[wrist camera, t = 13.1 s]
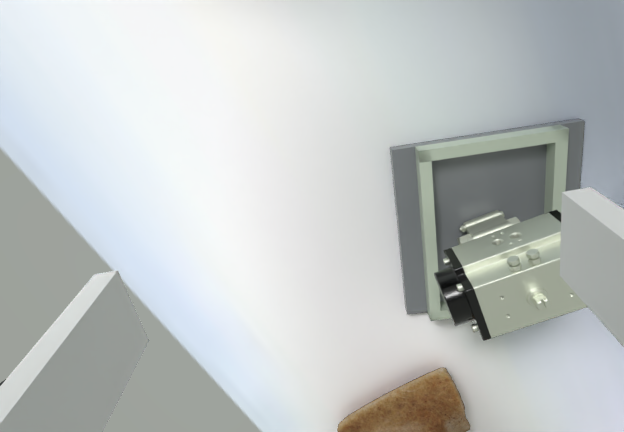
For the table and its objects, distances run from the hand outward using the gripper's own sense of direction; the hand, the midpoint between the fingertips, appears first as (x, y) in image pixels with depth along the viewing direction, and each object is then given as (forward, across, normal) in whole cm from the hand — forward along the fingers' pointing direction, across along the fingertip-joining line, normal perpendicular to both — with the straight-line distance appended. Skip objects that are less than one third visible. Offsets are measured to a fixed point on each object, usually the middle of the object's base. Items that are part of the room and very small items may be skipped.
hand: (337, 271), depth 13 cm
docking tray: (+27, +12, -14) cm, 33 cm away
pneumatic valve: (+26, +12, -14) cm, 32 cm away
